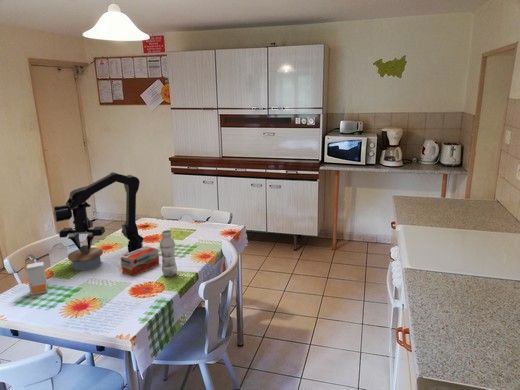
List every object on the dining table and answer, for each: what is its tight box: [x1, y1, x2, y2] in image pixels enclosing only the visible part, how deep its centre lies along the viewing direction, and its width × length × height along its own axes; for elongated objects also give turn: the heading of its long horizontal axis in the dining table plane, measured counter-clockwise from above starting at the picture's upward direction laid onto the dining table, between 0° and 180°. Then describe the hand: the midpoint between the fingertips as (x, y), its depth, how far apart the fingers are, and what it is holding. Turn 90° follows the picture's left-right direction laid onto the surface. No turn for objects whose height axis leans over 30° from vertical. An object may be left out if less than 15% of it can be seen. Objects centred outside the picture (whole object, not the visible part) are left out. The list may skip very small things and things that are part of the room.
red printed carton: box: [120, 245, 160, 277], centre depth 176 cm, size 15×8×8 cm, turn 146°
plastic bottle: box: [159, 230, 178, 277], centre depth 167 cm, size 6×7×20 cm
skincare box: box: [26, 261, 48, 296], centre depth 154 cm, size 6×4×12 cm
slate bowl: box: [71, 256, 102, 272], centre depth 180 cm, size 12×12×5 cm
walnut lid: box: [67, 244, 104, 262], centre depth 179 cm, size 15×15×4 cm
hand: (84, 249), depth 179 cm, fingers open, 4 cm apart
